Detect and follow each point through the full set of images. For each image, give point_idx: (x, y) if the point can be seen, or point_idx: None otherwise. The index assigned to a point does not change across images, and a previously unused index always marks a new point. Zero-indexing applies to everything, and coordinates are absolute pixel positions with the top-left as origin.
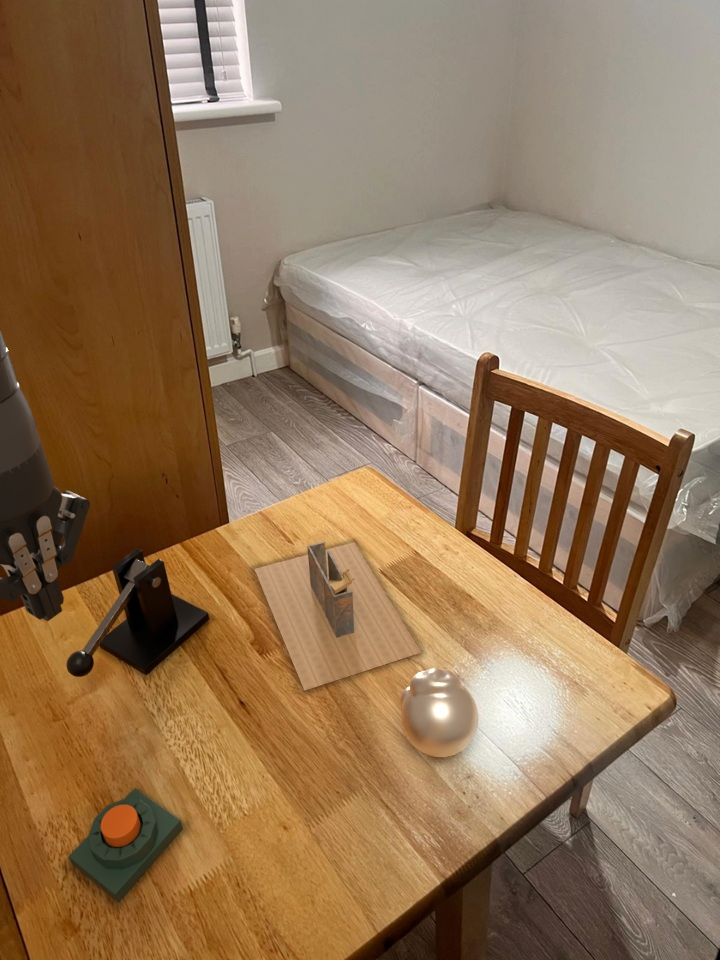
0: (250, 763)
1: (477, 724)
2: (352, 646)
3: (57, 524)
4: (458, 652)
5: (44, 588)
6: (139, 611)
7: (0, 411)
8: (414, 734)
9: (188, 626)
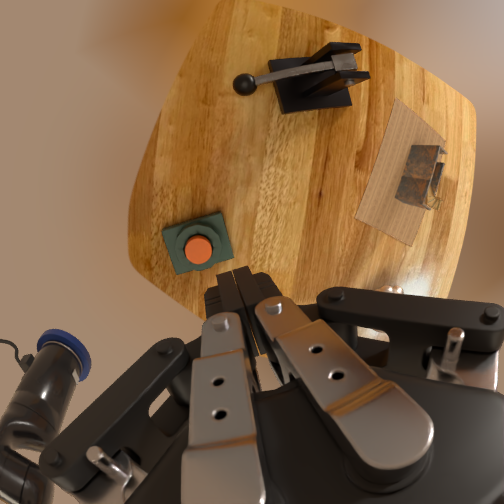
0: (293, 241)
1: None
2: (395, 211)
3: (407, 343)
4: (420, 261)
5: (256, 354)
6: None
7: None
8: None
9: (333, 104)
